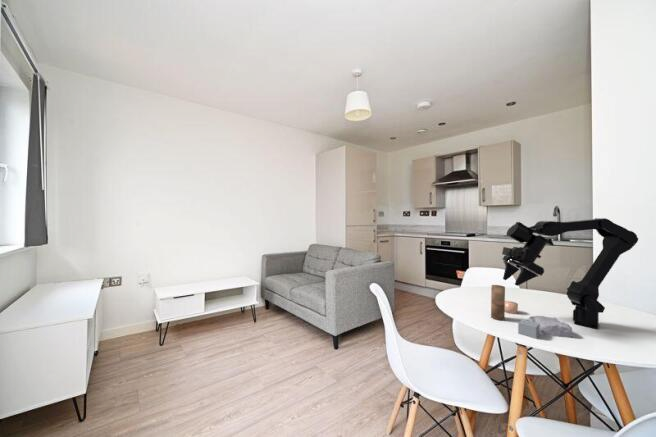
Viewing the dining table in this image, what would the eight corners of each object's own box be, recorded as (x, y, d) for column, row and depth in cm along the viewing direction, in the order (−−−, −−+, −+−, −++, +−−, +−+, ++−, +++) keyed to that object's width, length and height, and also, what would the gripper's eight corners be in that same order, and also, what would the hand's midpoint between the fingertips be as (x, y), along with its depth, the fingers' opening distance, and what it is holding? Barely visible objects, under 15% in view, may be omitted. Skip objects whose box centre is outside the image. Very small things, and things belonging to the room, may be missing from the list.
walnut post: (506, 318, 106) (506, 286, 106) (502, 321, 103) (502, 288, 103) (493, 315, 110) (493, 284, 110) (489, 318, 107) (489, 286, 107)
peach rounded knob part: (519, 312, 114) (519, 303, 114) (515, 315, 111) (515, 305, 111) (505, 309, 118) (505, 300, 118) (501, 311, 115) (502, 302, 115)
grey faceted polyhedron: (539, 335, 92) (539, 323, 92) (535, 339, 89) (536, 327, 89) (522, 330, 96) (522, 319, 96) (518, 334, 93) (518, 322, 93)
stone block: (544, 341, 92) (577, 338, 90) (540, 327, 92) (573, 324, 90) (525, 328, 103) (554, 325, 101) (523, 316, 103) (551, 313, 102)
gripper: (501, 237, 115) (481, 267, 116) (526, 240, 96) (502, 276, 98) (525, 250, 113) (505, 281, 115) (555, 256, 95) (530, 293, 96)
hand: (509, 282), depth 106 cm, fingers open, 9 cm apart
